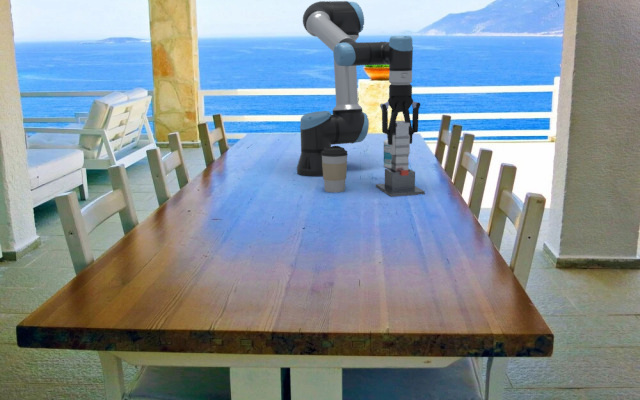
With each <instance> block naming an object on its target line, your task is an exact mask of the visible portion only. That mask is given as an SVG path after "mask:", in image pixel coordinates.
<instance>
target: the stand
mask: <svg viewBox="0 0 640 400" xmlns="http://www.w3.org/2000/svg"><path fill="white" fill-rule="evenodd" d="M375 188H377V189H379V191H381V192H383V193H384V194H386V195H387V196H389V197H407V196H418V194H422V195H425V194H426V191H425V190H423V189H421V188H419V187H417V186H416V171H415V170H413V169H410V168H409V167H408V170H400V172H392V171H391V168H384V183H375Z"/></svg>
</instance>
